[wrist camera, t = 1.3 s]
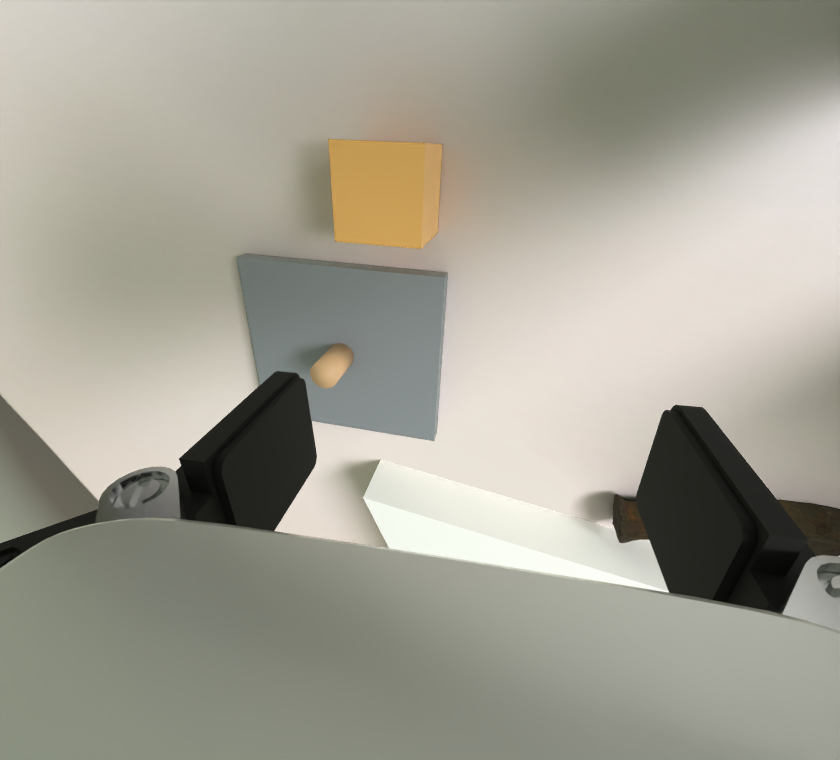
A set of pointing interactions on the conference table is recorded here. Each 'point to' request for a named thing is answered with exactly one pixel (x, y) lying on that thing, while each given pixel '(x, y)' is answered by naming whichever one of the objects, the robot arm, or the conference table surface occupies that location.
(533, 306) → the conference table surface
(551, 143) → the conference table surface
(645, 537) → the brown piece
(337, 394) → the peg board
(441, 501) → the triangle block
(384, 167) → the orange cube
